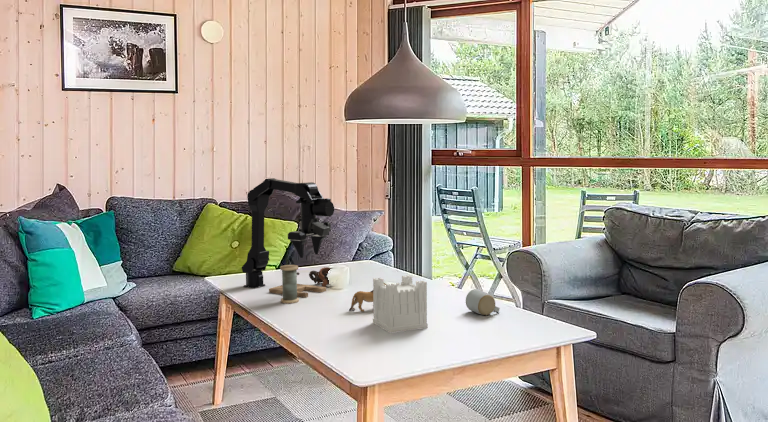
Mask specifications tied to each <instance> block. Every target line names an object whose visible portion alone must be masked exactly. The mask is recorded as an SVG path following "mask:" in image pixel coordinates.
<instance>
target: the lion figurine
mask: <svg viewBox="0 0 768 422" xmlns="http://www.w3.org/2000/svg"><path fill="white" fill-rule="evenodd" d="M384 284H385V285H386V284H387V283H385V282H384ZM363 302H366V303H373V289H372V290H370V291H361V290H360V291H356V292H355V293H354V295H352V299H351V303H350V308H349V310H348V311H349V312H350V311H355V310H356V307H355V306H356V305H357V304H358V306H357V307H358V309H359V311H360V312H361V313H363V312H365V309H363V308H362V306H363ZM372 306H373V305H372ZM373 309H374V306H373Z"/></svg>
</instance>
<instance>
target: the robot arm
mask: <svg viewBox="0 0 768 422" xmlns="http://www.w3.org/2000/svg"><path fill="white" fill-rule="evenodd" d="M275 191H279V192H280V191H281V192H285V193H286V192H287V193H292V194H294V195H295V196H297V197H298V199H297V200H296V201H295V204H298V205H299V204H300V217H299V218H298V222H300V228H299V229H298V231H297V230H294V231H289V232H288V233H287V240H289V241H290V242H291V243H292V244H293V246H294V248H295V250H296V252H297V254H298V256H299V258H301V259H303V258H304V253H305V250H304V248H305V243H306V242H307V239H306V238H307V237H310V238H311V239H310V240H311V244H312V247H313V252H314V255H319V251H320V248H321V245H322V242H323V241H324V239H326V238H327V237H328V236H329V235H330V232H331V231H332V229H331V228H332V226H331V225H332V224H331V222H330V221H326V222H320V219H319V217H327V218H328V217H329V218H330V217H332V216H333V215H334V212H335V206H334V202H333V201H332V199H331V198H329V197H328V198H324V197H323V195H322V193H321V191H320V190H319V188H318V185H317V183H315V182H312V181H311V182H294V181H288V180H282V179H277V178H273V177H272V178H271V177H270V178H265V179H264V180H263V181H262V182H261V183H259V184H258V185H257V186H255V187H253V189H251V190H249V191H248V192H247V196H246V197H247V204H248V206H249V209H250V211H251V244H250V245H251V246H250V249H249V250H248V252H247V256H246V257H247V258H246V261H245V263H244V264H243V265H242V266H241V270H242V273H244V274H245V284H243V287H244V288H251V289H257V288H261V287H265V286H266V284H265V283H264V275H263V271H266V268H267V265H268V264H269V262H270V251H269V250H267V249H266V248H265V211H266V209H267V207H268V205H269V200H270V197H272V195H273V194H274V192H275Z"/></svg>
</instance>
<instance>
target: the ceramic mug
mask: <svg viewBox="0 0 768 422" xmlns="http://www.w3.org/2000/svg"><path fill="white" fill-rule="evenodd" d="M465 305H466V308H467V309H468V310H469V311H471V312H473V313H476V314H477V315H478V314H479V315H481V316H488V315H490V314H492V313H493V312H496V313H499V311H500V309H501V308H500V307H498V306H496V300H495V298H494V297H493V296H492V295H491V294H490V293H487V292H485V291H484V290H481V289H479V288H473V289H471V290H470V291H469V292H468V293H467V294H466V297H465Z"/></svg>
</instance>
